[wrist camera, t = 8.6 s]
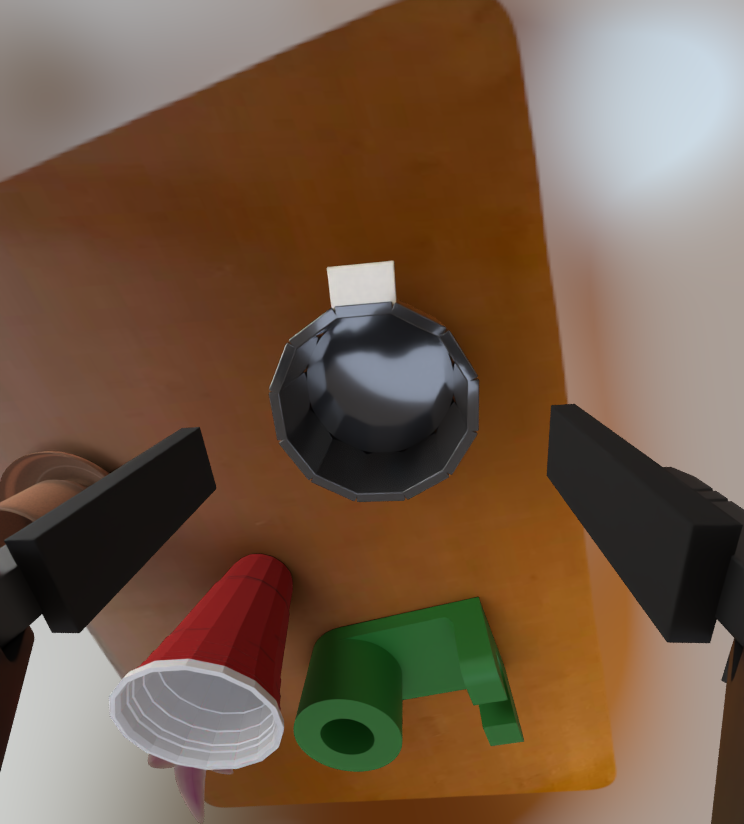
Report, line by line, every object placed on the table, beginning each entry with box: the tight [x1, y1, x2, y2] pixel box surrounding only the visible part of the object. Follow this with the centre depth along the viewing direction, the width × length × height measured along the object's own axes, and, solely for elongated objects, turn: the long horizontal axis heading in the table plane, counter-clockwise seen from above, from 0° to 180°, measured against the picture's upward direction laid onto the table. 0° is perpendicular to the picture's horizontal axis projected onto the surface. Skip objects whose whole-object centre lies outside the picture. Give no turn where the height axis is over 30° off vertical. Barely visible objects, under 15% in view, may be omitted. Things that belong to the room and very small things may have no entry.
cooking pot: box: [269, 261, 479, 502], centre depth 22 cm, size 13×11×6 cm
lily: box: [148, 754, 233, 824], centre depth 35 cm, size 12×12×10 cm
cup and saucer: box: [0, 451, 109, 548], centre depth 29 cm, size 12×12×6 cm
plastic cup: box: [109, 554, 293, 770], centre depth 27 cm, size 11×11×12 cm
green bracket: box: [294, 597, 524, 772], centre depth 32 cm, size 18×9×6 cm, turn 111°
